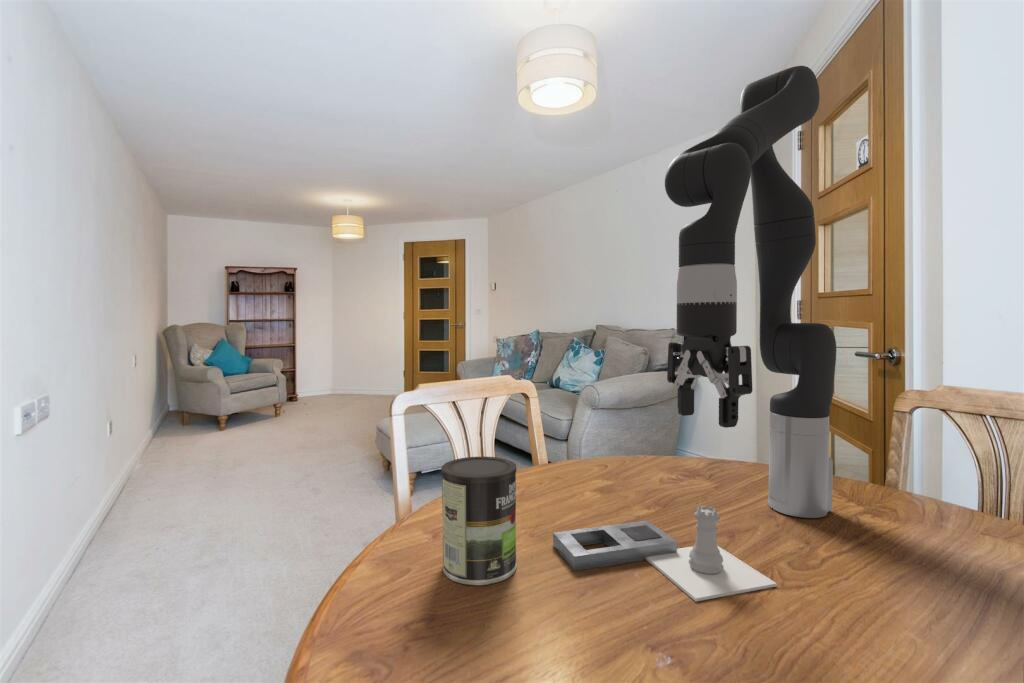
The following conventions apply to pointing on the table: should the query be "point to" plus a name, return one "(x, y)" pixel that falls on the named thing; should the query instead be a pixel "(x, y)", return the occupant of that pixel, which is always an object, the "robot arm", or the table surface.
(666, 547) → the grey rectangular frame
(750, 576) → the mat
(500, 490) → the coffee can
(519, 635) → the table surface
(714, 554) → the rook chess piece
